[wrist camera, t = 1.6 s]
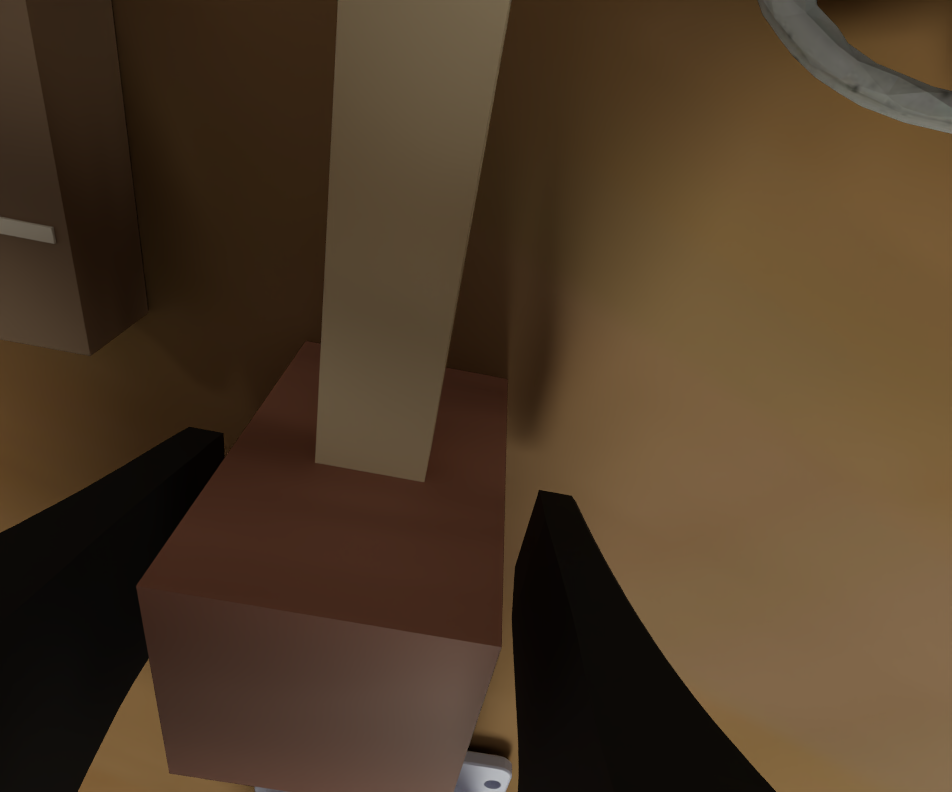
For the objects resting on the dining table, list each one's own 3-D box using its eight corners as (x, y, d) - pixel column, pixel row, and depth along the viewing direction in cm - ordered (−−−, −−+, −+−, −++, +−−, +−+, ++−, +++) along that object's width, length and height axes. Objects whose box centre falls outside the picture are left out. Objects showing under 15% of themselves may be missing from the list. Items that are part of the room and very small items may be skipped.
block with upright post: (471, 525, 14) (445, 815, 9) (300, 495, 14) (169, 773, 8) (594, 25, 9) (712, 8, 3) (318, -35, 8) (4, -154, 3)
